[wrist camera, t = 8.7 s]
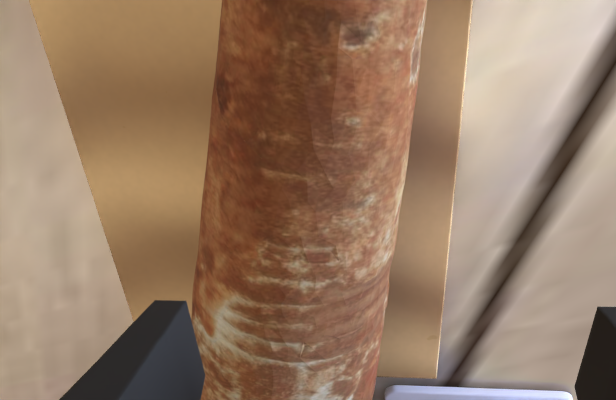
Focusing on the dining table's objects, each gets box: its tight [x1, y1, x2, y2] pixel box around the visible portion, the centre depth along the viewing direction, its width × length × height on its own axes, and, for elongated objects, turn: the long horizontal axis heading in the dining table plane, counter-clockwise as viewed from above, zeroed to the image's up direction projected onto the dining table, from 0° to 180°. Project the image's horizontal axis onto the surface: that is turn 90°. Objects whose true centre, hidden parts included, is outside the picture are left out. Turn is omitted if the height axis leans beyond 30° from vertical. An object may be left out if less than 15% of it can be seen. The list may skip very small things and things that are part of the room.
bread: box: [191, 0, 427, 400], centre depth 15 cm, size 6×19×6 cm, turn 172°
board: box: [29, 0, 473, 379], centre depth 17 cm, size 22×12×2 cm, turn 4°
